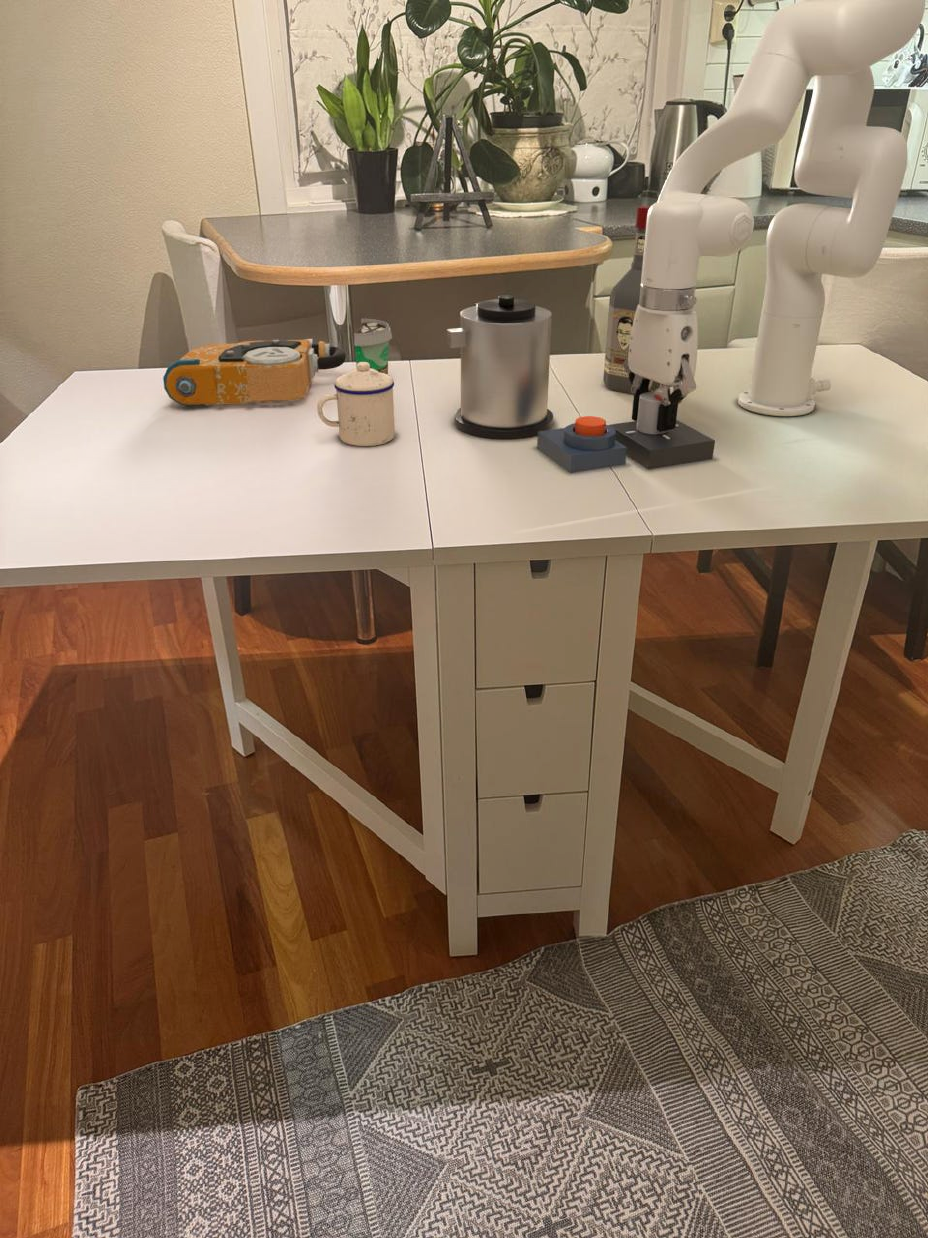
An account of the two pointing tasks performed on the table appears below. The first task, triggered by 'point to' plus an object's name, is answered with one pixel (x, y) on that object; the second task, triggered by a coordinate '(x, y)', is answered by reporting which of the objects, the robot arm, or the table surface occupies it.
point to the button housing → (581, 449)
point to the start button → (590, 426)
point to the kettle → (503, 369)
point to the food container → (373, 344)
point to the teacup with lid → (363, 407)
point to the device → (249, 372)
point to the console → (664, 445)
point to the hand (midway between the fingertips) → (653, 423)
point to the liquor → (625, 315)
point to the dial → (649, 412)
